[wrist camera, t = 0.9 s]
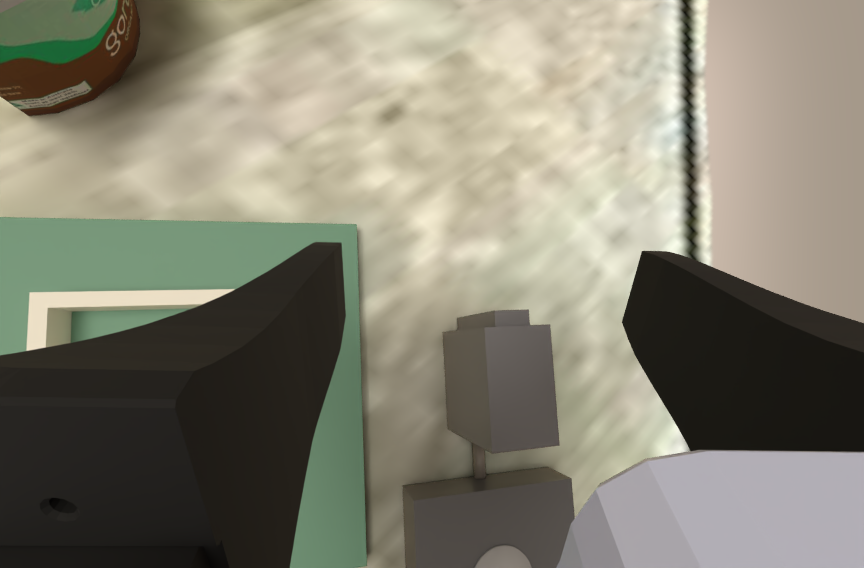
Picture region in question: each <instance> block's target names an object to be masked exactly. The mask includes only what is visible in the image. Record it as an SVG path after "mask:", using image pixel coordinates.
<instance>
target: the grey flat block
mask: <svg viewBox="0 0 864 568" xmlns="http://www.w3.org/2000/svg"><path fill="white" fill-rule="evenodd" d="M472 447H473V465H474V476H473V477H466V478H458V479H451V480H443V481H435V482H428V483H420V484H412V485H405V486H403V512H404V537H405V563H406V568H556V567H557V565H558V563H559V561H560V559H561V556H562V552H563V549H564V545H565V542H566V539H567V535H568V532H569V528H570V525H571V523H572V522H573V520H574V519H575V518H574V506H573V493H572V481H571V478H569V477H567V476H565V475H563V474H561V473H559V472H557V471H555V470H553V469H551V468H549V467H542V468H534V469H527V470H519V471H512V472H504V473H496V474H489V475H486V470H485V453H484V449H483V448H481V447H480V446H478V445H476V444H474V443H472Z"/></svg>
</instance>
